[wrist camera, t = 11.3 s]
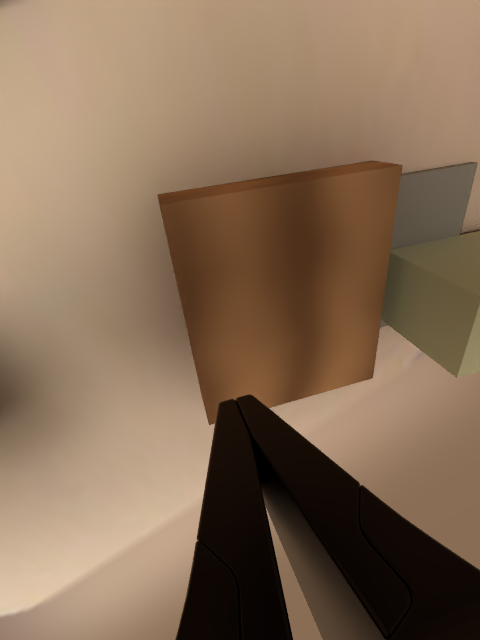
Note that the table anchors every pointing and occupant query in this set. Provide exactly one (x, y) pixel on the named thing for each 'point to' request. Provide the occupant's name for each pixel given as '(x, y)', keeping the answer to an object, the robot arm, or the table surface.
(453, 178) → the mat
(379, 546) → the robot arm
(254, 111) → the table surface
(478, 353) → the card box
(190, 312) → the panel
